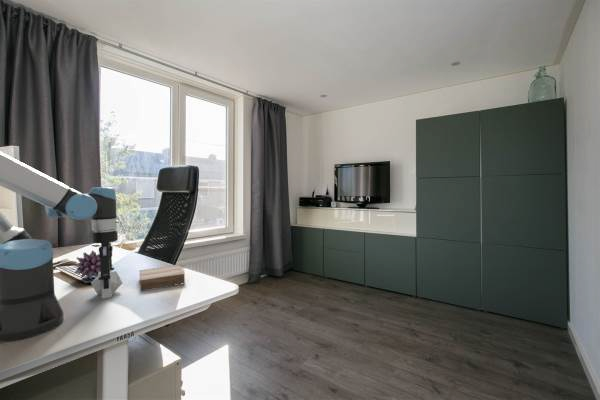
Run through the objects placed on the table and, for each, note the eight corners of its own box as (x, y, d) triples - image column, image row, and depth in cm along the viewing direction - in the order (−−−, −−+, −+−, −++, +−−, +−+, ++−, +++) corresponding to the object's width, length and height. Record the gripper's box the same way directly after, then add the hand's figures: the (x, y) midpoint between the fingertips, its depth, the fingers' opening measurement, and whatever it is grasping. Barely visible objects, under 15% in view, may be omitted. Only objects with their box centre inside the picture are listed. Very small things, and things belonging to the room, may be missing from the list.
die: (99, 301, 101) (118, 276, 103) (80, 288, 102) (100, 263, 105) (113, 301, 109) (131, 278, 111) (95, 289, 110) (113, 266, 113)
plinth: (184, 283, 116) (184, 273, 116) (140, 291, 109) (140, 280, 109) (179, 274, 129) (178, 265, 129) (139, 279, 122) (139, 270, 122)
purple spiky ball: (108, 282, 125) (73, 283, 116) (100, 275, 133) (67, 275, 124) (114, 254, 125) (79, 253, 117) (106, 249, 134) (73, 248, 125)
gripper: (116, 233, 98) (119, 300, 99) (118, 226, 117) (120, 282, 118) (88, 236, 94) (91, 305, 96) (95, 227, 114) (98, 285, 115)
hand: (107, 292), depth 107 cm, fingers open, 9 cm apart
